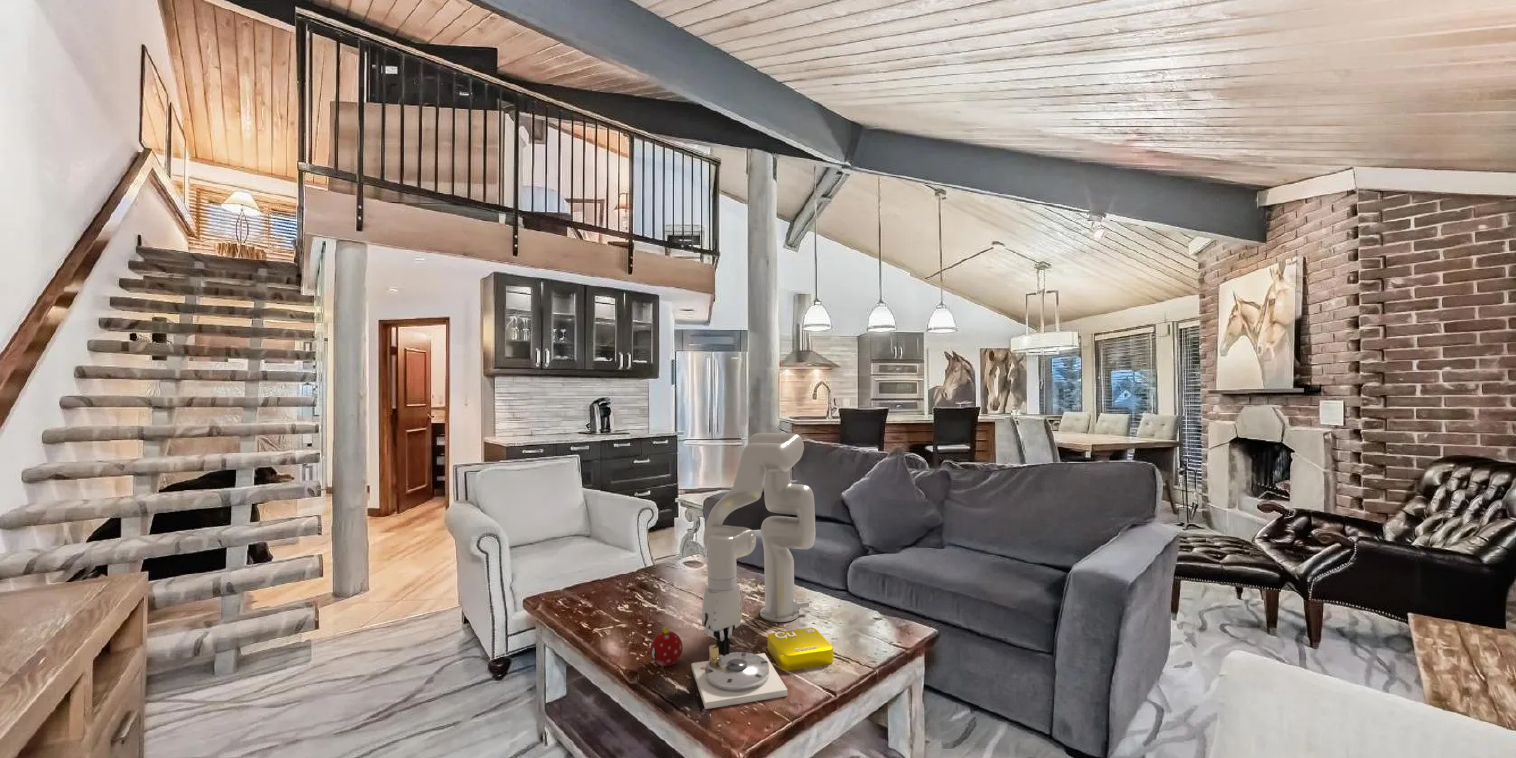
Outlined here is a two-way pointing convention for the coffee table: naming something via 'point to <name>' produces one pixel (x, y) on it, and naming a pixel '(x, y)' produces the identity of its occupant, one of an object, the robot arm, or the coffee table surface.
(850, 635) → the coffee table surface
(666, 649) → the christmas ornament
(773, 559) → the robot arm
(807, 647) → the element tile
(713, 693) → the base plate
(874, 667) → the coffee table surface
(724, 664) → the rotary dial
